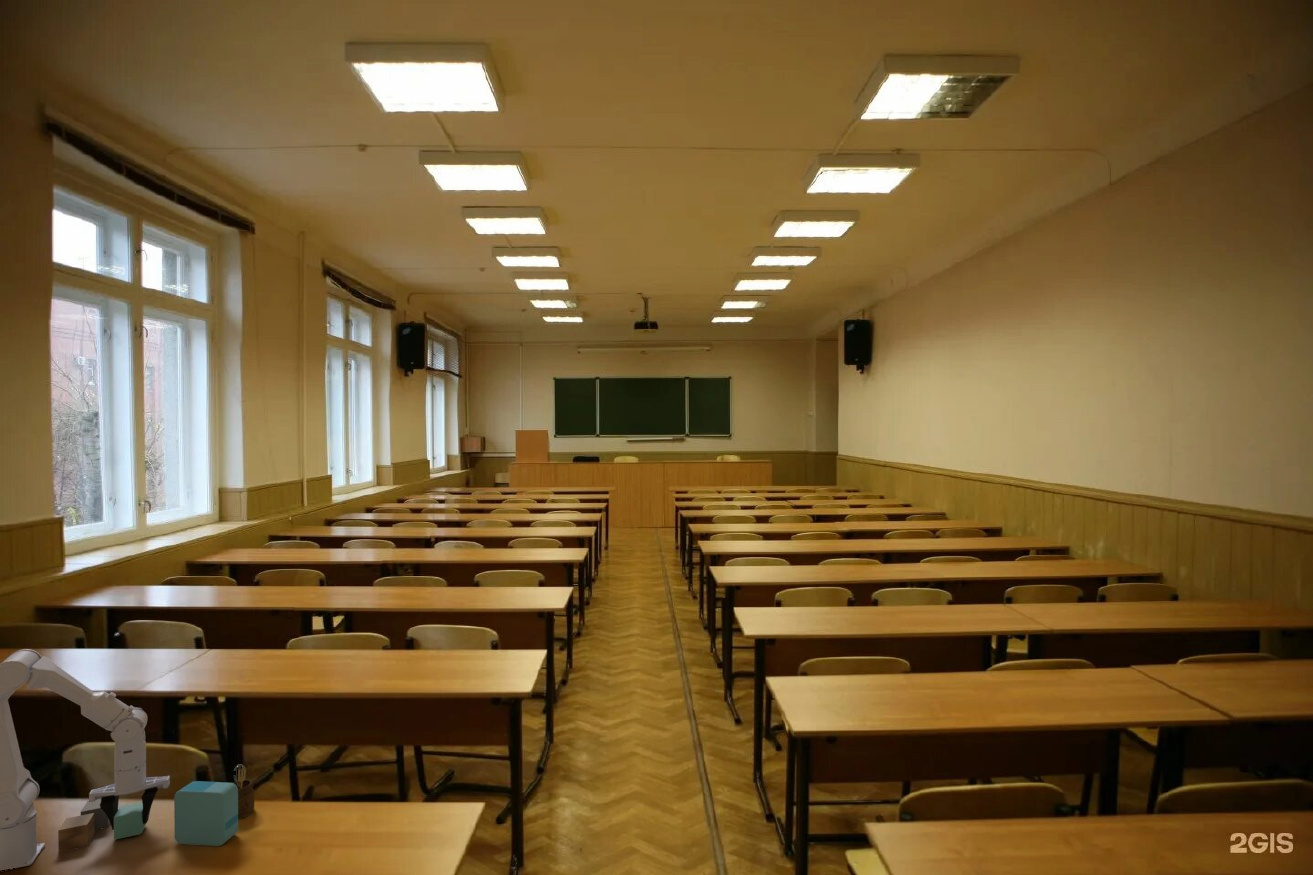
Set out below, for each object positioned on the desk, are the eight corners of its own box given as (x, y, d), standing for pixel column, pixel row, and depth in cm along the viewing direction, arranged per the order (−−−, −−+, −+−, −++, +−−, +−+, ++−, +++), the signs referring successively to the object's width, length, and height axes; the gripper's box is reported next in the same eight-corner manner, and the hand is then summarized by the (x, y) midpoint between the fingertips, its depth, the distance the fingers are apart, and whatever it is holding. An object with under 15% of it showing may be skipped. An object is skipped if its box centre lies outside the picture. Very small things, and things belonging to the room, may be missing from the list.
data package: (238, 834, 154) (238, 782, 154) (224, 846, 150) (224, 793, 150) (189, 832, 155) (189, 780, 155) (174, 844, 151) (173, 790, 151)
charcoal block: (80, 833, 155) (80, 811, 155) (87, 821, 160) (87, 800, 160) (108, 827, 157) (107, 806, 157) (114, 816, 162) (114, 795, 162)
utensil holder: (251, 803, 167) (251, 755, 167) (256, 814, 162) (256, 764, 162) (223, 812, 163) (223, 763, 163) (228, 823, 159) (227, 773, 158)
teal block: (113, 839, 151) (113, 817, 151) (120, 827, 156) (120, 806, 156) (141, 833, 153) (141, 811, 153) (146, 822, 158) (146, 800, 158)
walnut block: (58, 852, 148) (58, 830, 148) (66, 840, 152) (66, 818, 152) (87, 846, 150) (87, 824, 150) (94, 834, 155) (94, 812, 155)
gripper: (172, 751, 161) (172, 807, 161) (95, 764, 155) (96, 823, 155) (165, 764, 155) (166, 823, 155) (85, 778, 149) (86, 839, 149)
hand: (130, 824), depth 155 cm, fingers closed on teal block, 5 cm apart
